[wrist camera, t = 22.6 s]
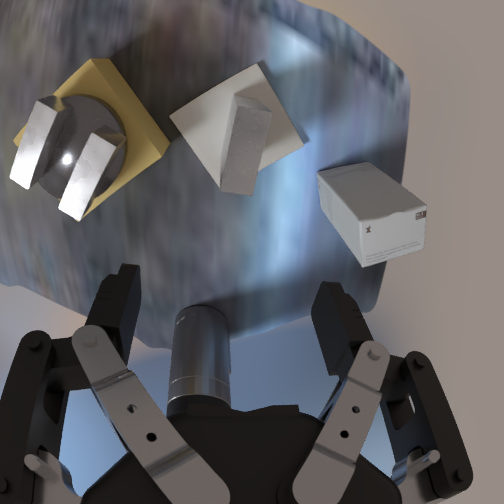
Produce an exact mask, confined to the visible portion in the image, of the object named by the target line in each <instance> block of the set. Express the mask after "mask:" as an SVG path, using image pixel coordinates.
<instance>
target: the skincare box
mask: <svg viewBox="0 0 504 504" xmlns="http://www.w3.org/2000/svg"><path fill="white" fill-rule="evenodd" d="M317 181H318V189H319V196H320V204H321V209H322V211H323V212H324V213H325V215H326V216H327V218H328V219H329V220H330V222H331V223H332V224H333V226H334V227H335V228H336V230H337V231H338V233H339V234H340V236H341V237H342V238H343V240H344V241H345V243H346V244H347V246H348V247H349V248H350V250H351V251H352V253H353V254H354V256H355V257H356V258H357V260H358V261H359V263H360V264H361V266H362V267H366V266H370V265H373V264H377V263H380V262H383V261H387V260H389V259H393V258H396V257H400V256H403V255H406V254H410V253H413V252H416V251H419V250H423V248H424V239H425V227H426V209H427V205H426V204H425V203H423V202H422V201H421V200H420V199H419V198H417V197H416V196H415V195H413V194H412V193H411V192H409V191H408V190H407V189H405V188H404V187H403V186H402V185H400V184H399V183H398V182H396V181H395V180H393V179H392V178H391V177H389V176H388V175H386V174H385V173H384V172H382V171H381V170H379V169H378V168H377V167H375V166H374V165H372V164H371V163H369V162H363V163H358V164H352V165H347V166H342V167H337V168H333V169H329V170H324V171H318V172H317Z"/></svg>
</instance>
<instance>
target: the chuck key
mask: <svg viewBox="0 0 504 504" xmlns="http://www.w3.org/2000/svg"><path fill="white" fill-rule="evenodd" d="M272 113H273V112H271V111H270V110H269V109H268V108H267V107H266V106H265V105H264V104H263V103H262V102H261V101H260V100H259V99H256V98H251V97H246V96H241V95H236V94H233V97H232V102H231V107H230V111H229V116H228V121H227V125H226V130H225V135H224V140H223V145H222V150H221V155H220V191H224V192H230V193H237V194H243V195H249V196H252V194H253V190H254V186H255V182H256V178H257V174H258V170H259V165H260V161H261V157H262V153H263V149H264V145H265V141H266V137H267V133H268V129H269V125H270V121H271V117H272Z"/></svg>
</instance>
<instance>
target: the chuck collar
mask: <svg viewBox="0 0 504 504" xmlns="http://www.w3.org/2000/svg"><path fill="white" fill-rule="evenodd" d="M127 147H128V145H127V135H126V131H125V128H124V125H123V122H122V120H121V118H120V117H119V115H118V114H117V112H116V111H115V110H114V109H113V108H112V107H111V106H110V105H109V104H108V103H107V102H105V101H104V100H102V99H100V98H98V97H96V96H93V95H88V94H74V95H70V96H67V97H63V98H58V97H57V96H55V95H52V96H48V97H45V98H42V99H39V100H37V101H36V103H35V106H34V108H33V110H32V113H31V115H30V118H29V120H28V123H27V126H26V128H25V131H24V134H23V137H22V140H21V142H20V145H19V148H18V151H17V155H16V158H15V161H14V164H13V168H12V171H11V175H10V178H11V179H13V180H14V181H16V182H17V183H19V184H20V185H22V186H23V187H25V188H27V189H29V188H30V187H32V186H33V185H34V184H35V183H36V182H37V181H38V182H39V184H40V185H41V186H42V187H43V188H44V189H45V190H46V191H47V192H48V193H50V194H51V195H52V196H54V197H56V198H58V199H61V202H60V205H59V209H60V210H62V211H64V212H65V213H67V214H69V215H70V216H72V217H74V218H75V219H77V220H79V221H80V220H81V219H82V217H83V216H84V215H85V213H86V212H87V211H88V209H89V208H90V207H91V205H92V203H93V201H94V199H95V198H97V197H99V196H100V195H102V194H103V193H104V192H105V191H106V190H107V189H108V188H109V187H110V186H111V185H112V184H113V182H114V181H115V180H116V178H117V177H118V176H119V174H120V173H121V171H122V169H123V166H124V164H125V160H126V156H127Z"/></svg>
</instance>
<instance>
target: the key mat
mask: <svg viewBox="0 0 504 504" xmlns="http://www.w3.org/2000/svg"><path fill="white" fill-rule="evenodd" d="M233 94H236V95H241V96H246V97H251V98H256V99H259V100H260V101H261V102H262V103H263V104H264V105H265V106H266V107H267V108H268V109H269V110H270V111H271V112H273V113H272V117H271V121H270V125H269V129H268V133H267V137H266V141H265V145H264V149H263V153H262V157H261V161H260V165H259V170H261V169H263V168H265V167H266V166H268V165H270V164H272V163H274V162H275V161H277V160H279V159H281V158H283V157H284V156H286V155H288V154H290V153H292V152H294V151H296V150H298V149H299V148H301V147H303V146H304V144H303V142H302V141H301V139H300V137H299V135H298V133H297V131H296V130H295V128H294V126H293V124H292V122H291V120H290V119H289V117H288V115H287V113H286V112H285V110H284V108H283V106H282V105H281V103H280V101H279V99H278V98H277V96H276V94H275V93H274V91H273V89H272V88H271V86H270V84H269V83H268V81H267V79H266V78H265V76H264V74H263V73H262V71H261V69H260V68H259V66H258V65H257V63H256V64H254V65H252V66H250V67H248V68H247V69H245V70H243V71H241V72H239V73H237V74H236V75H234V76H232V77H230V78H229V79H227V80H225V81H223V82H222V83H220V84H218V85H217V86H215V87H213V88H212V89H210V90H208V91H207V92H205V93H203V94H202V95H200V96H199V97H197V98H195V99H194V100H192V101H191V102H189V103H188V104H186V105H185V106H183V107H182V108H180V109H179V110H177V111H176V112H174V113H173V114H171V115H170V116H169V117H170V118H171V120H172V121H173V123H174V124H175V125H176V127H177V128H178V130H179V131H180V132H181V134H182V135H183V137H184V138H185V139H186V141H187V142H188V144H189V145H190V146H191V148H192V149H193V151H194V152H195V154H196V155H197V156H198V158H199V159H200V161H201V162H202V163H203V165H204V166H205V168H206V169H207V171H208V172H209V173H210V175H211V176H212V178H213V179H214V180H215V182H216V183H217V185H218V186H219V188H220V155H221V150H222V145H223V140H224V135H225V130H226V125H227V121H228V116H229V111H230V107H231V102H232V97H233ZM259 170H258V171H259ZM222 192H223V191H222Z"/></svg>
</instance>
